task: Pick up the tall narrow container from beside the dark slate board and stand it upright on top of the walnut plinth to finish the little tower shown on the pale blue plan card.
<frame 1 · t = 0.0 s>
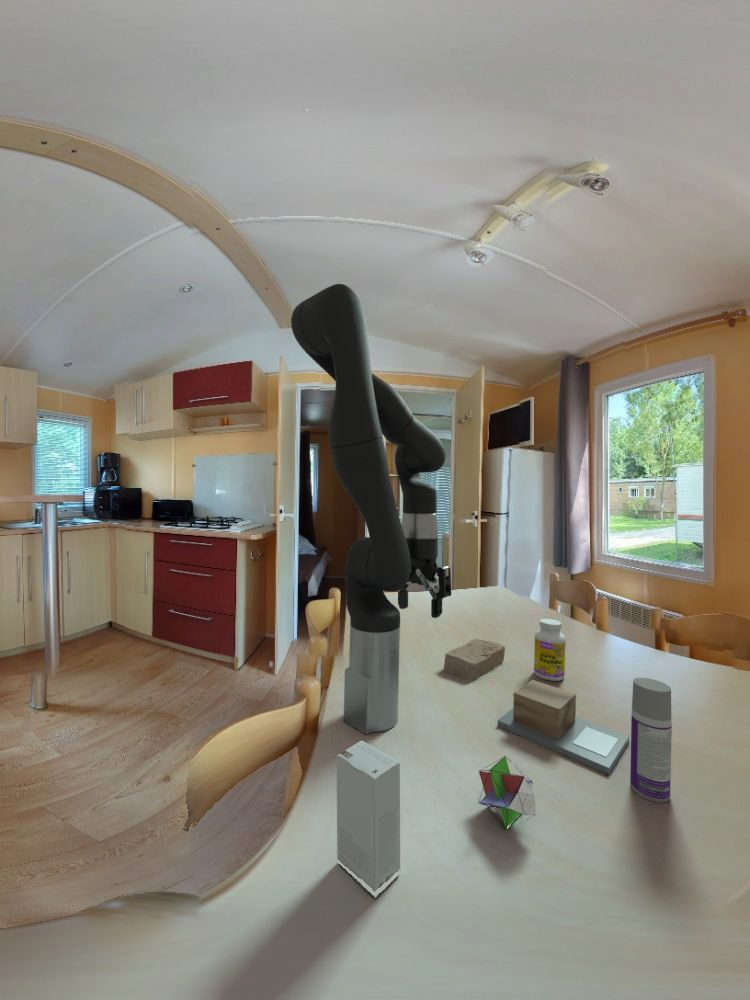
hand: (419, 612, 84), 17 cm above the table, tool pointing down, fingers open, 8 cm apart
skincare box: (366, 871, 43), on the table
container: (649, 791, 57), on the table
supplement bottle: (549, 676, 95), on the table
geometric puzzle: (505, 818, 51), on the table
slate board: (561, 733, 71), on the table
walnut plinth: (544, 726, 73), resting on slate board
brick: (475, 668, 99), on the table
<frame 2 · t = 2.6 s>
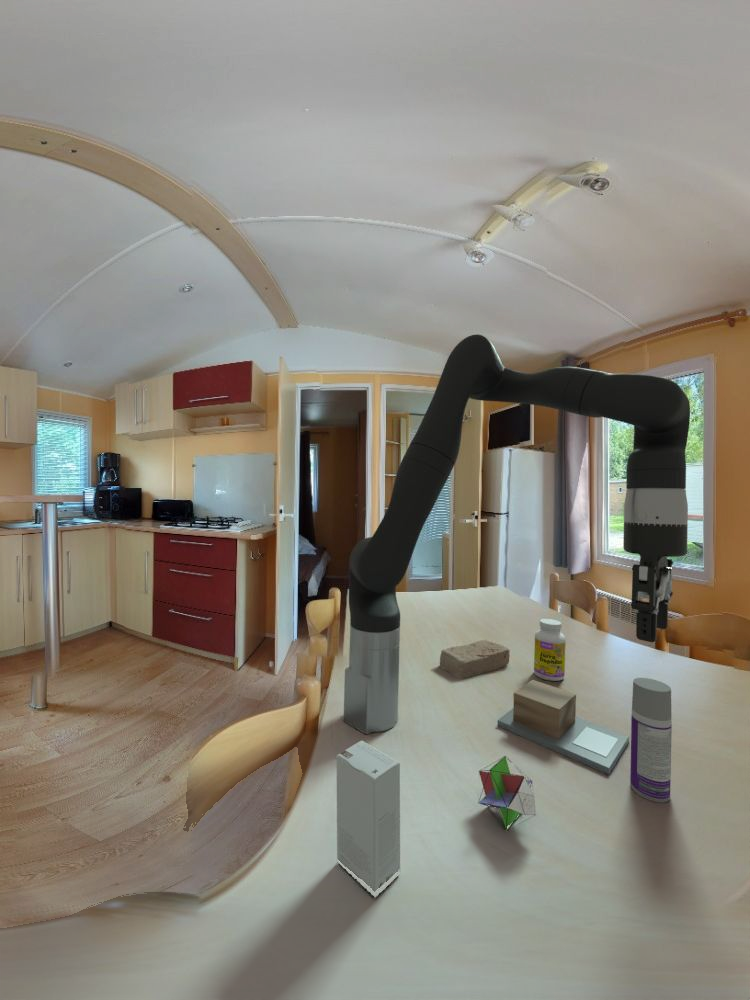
hand: (652, 633, 57), 22 cm above the table, tool pointing down, fingers open, 8 cm apart
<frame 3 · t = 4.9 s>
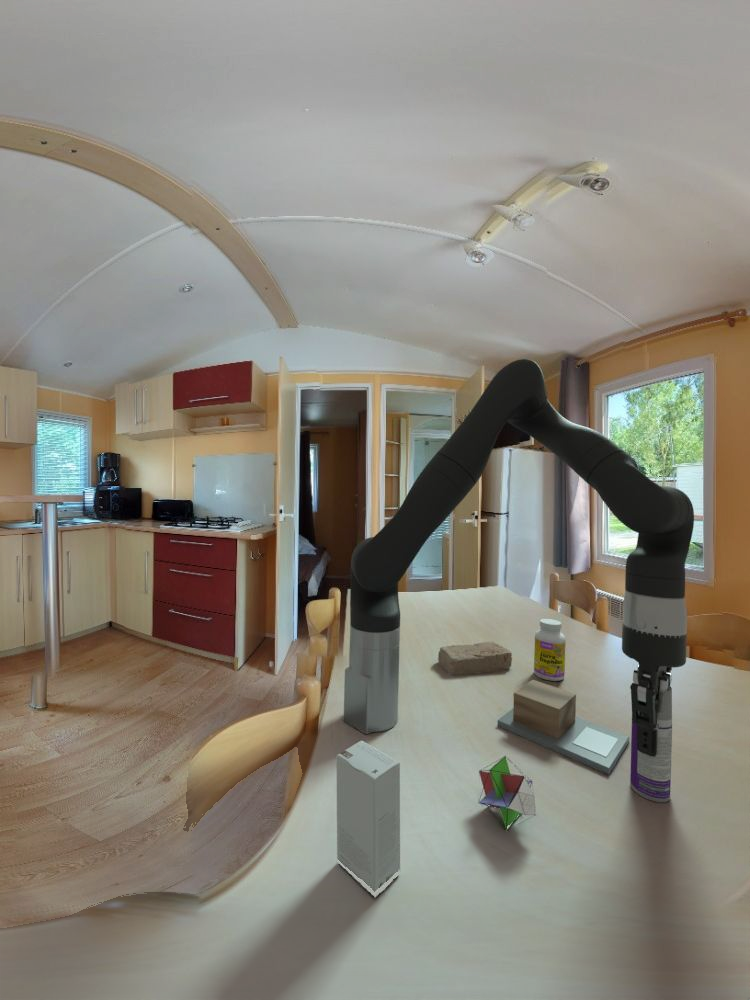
hand: (651, 744, 57), 6 cm above the table, tool pointing down, fingers closed on container, 4 cm apart
container: (649, 791, 57), on the table, touching gripper
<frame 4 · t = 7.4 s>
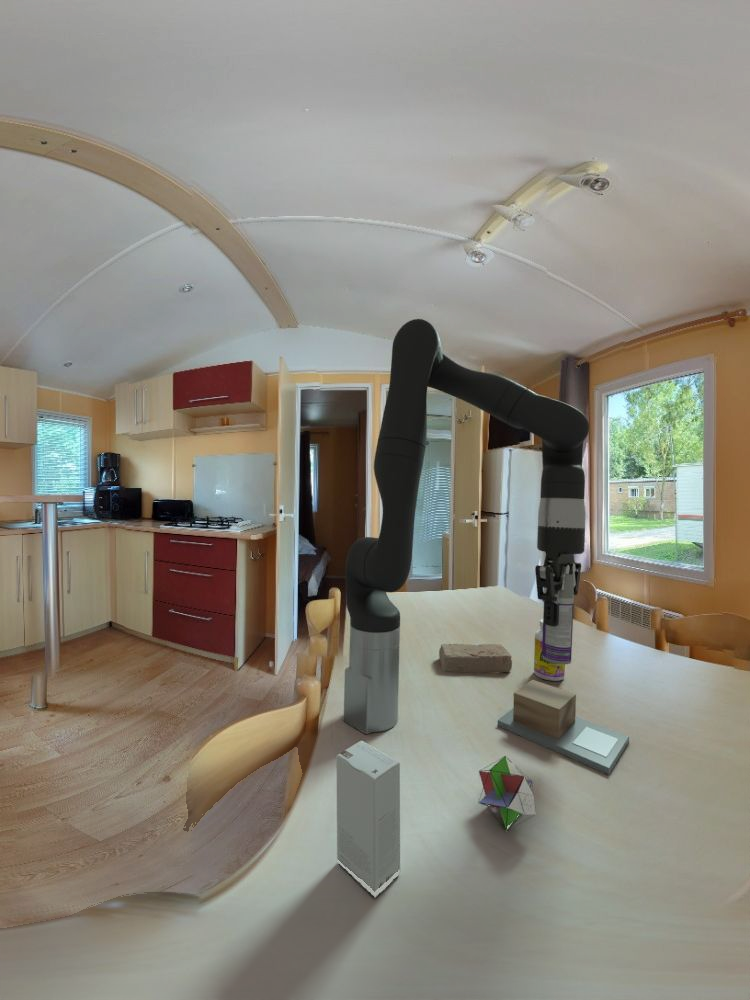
hand: (557, 622, 70), 20 cm above the table, tool pointing down, fingers closed on container, 4 cm apart
container: (556, 660, 70), point 13 cm above the table, touching gripper
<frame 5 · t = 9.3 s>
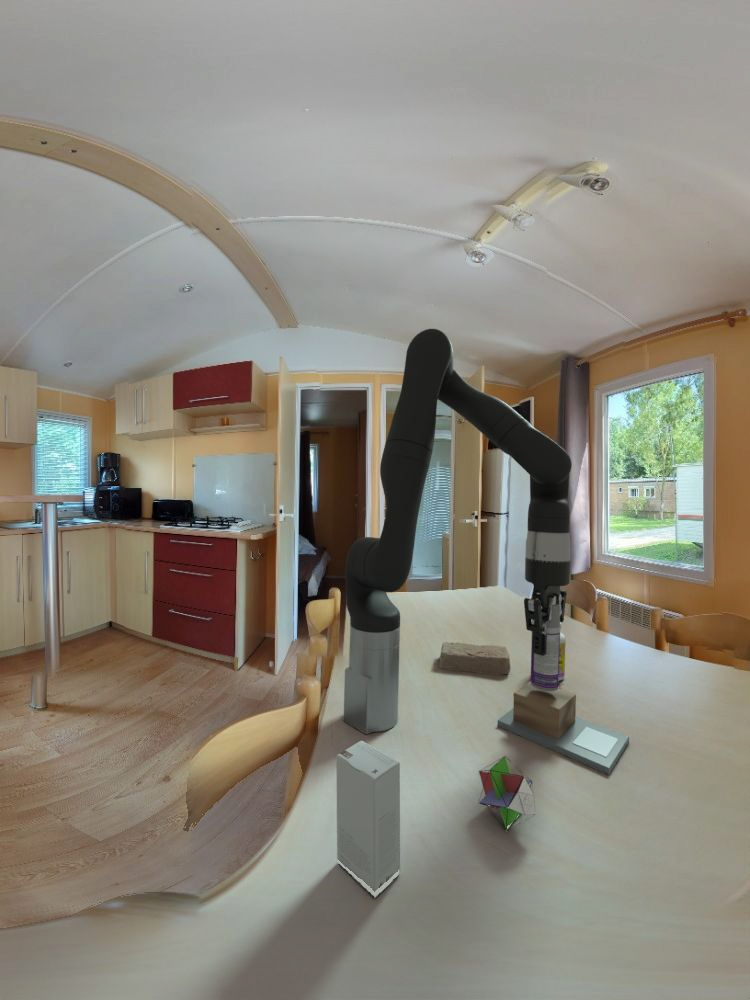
hand: (545, 650, 73), 14 cm above the table, tool pointing down, fingers closed on container, 4 cm apart
container: (544, 686, 73), point 7 cm above the table, touching gripper
when the fingers open (14 cm above the table, at t = 10.0 s): container drops 1 cm, resting on walnut plinth.
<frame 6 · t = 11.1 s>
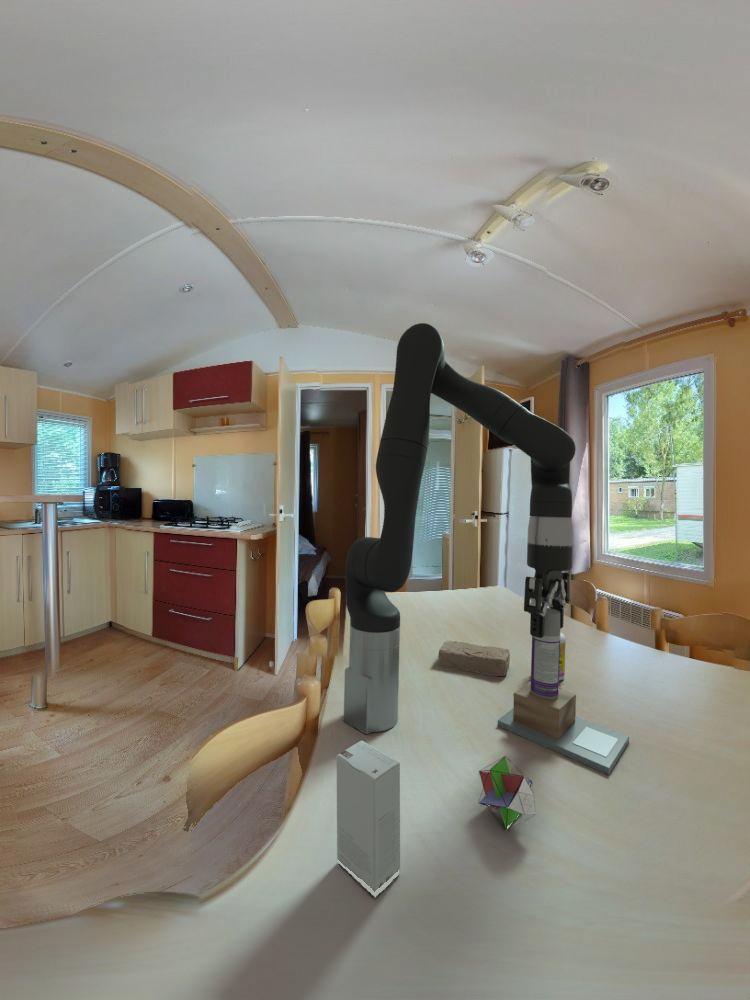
hand: (547, 631, 72), 17 cm above the table, tool pointing down, fingers open, 8 cm apart
container: (544, 694, 73), point 6 cm above the table, touching walnut plinth
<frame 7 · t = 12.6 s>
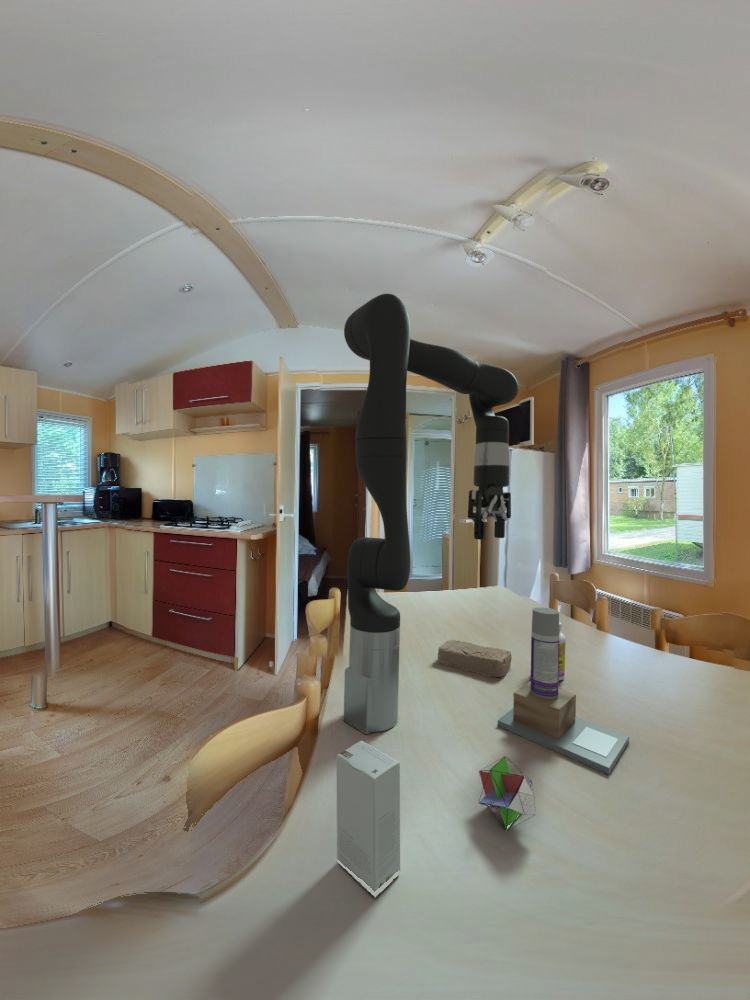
hand: (489, 538, 88), 33 cm above the table, tool pointing down, fingers open, 8 cm apart
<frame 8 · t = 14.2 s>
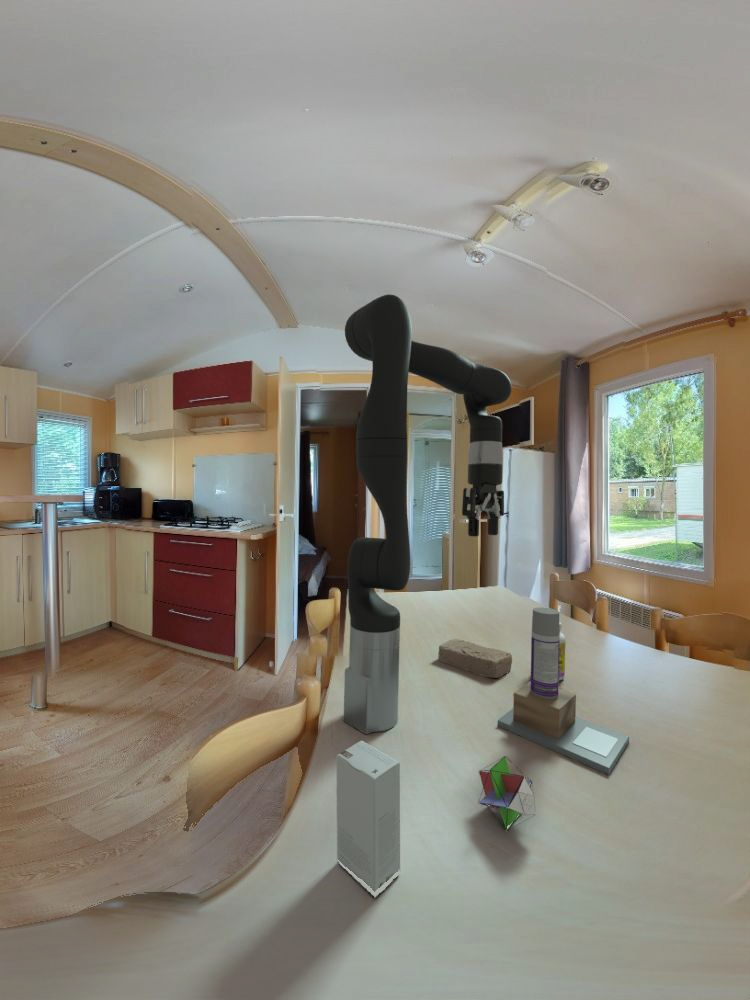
hand: (483, 535, 90), 33 cm above the table, tool pointing down, fingers open, 8 cm apart
at the end: container 0.1 cm off-centre on the walnut plinth, point 5.8 cm above the walnut plinth's base; container tilted 0°; the gripper is holding nothing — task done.
